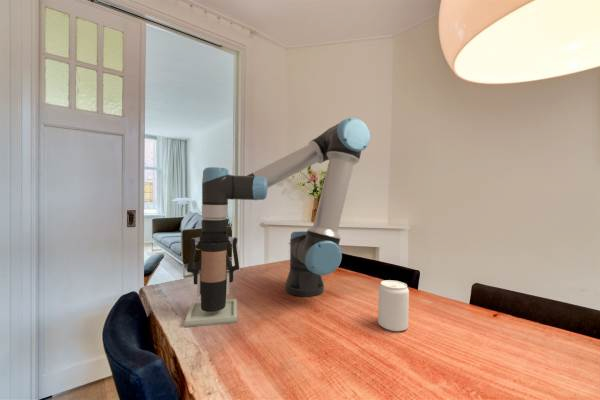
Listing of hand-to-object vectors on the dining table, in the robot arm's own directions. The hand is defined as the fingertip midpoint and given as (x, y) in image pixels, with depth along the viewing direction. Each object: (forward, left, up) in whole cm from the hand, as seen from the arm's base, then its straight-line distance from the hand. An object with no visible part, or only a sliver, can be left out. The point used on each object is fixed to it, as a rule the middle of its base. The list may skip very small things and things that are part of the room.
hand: (213, 293), depth 83 cm
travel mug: (0, 0, -4) cm, 4 cm away
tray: (0, 0, -6) cm, 6 cm away
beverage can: (-50, +18, -7) cm, 54 cm away
